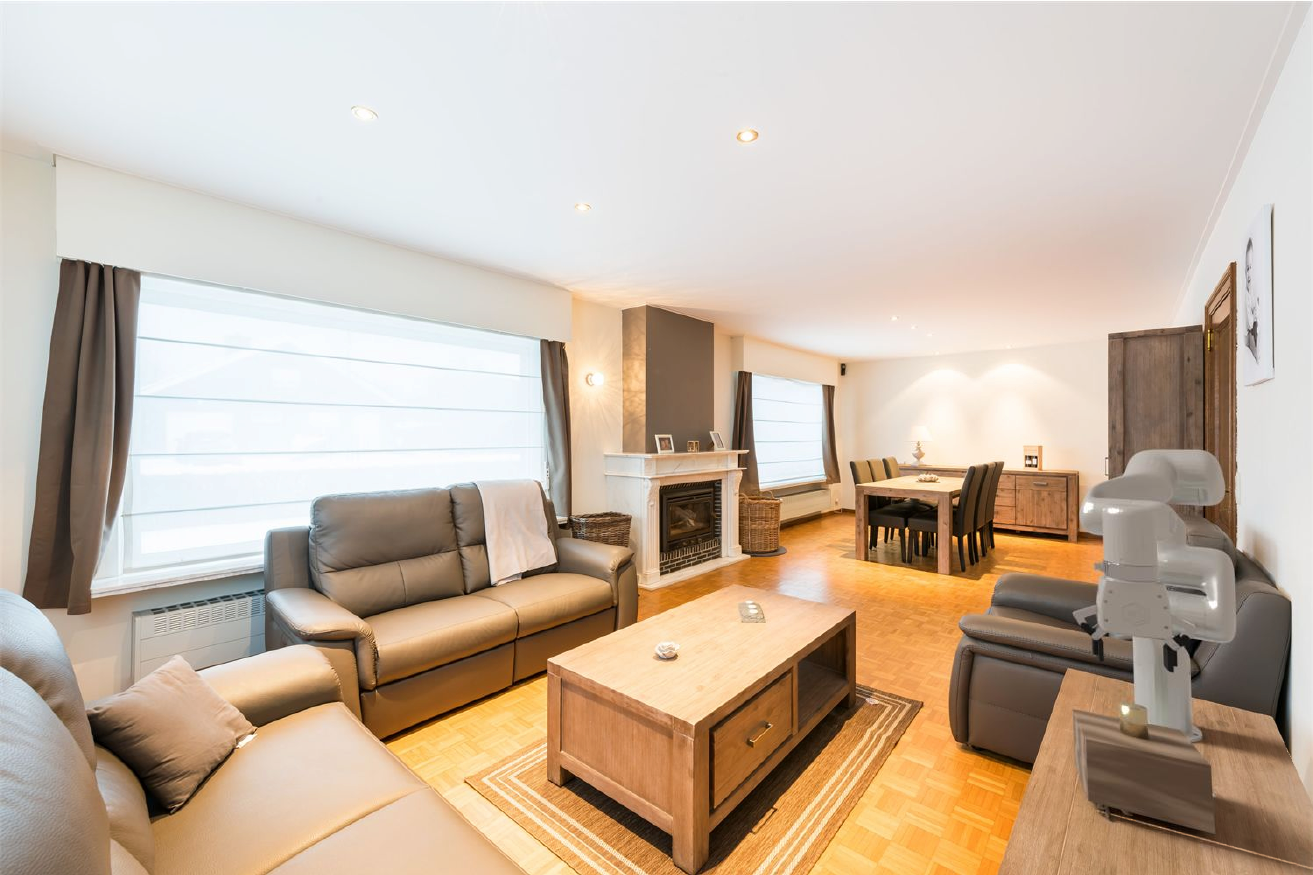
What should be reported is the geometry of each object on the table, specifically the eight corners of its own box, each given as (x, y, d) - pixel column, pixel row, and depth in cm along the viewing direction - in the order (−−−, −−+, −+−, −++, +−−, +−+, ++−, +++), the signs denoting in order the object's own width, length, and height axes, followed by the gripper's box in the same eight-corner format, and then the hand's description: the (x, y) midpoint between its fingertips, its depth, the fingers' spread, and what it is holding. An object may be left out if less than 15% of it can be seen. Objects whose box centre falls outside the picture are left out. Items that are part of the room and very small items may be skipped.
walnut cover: (1074, 762, 109) (1071, 683, 110) (1183, 788, 100) (1178, 702, 102) (1088, 800, 95) (1084, 709, 97) (1215, 834, 87) (1209, 733, 88)
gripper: (1074, 571, 100) (1077, 662, 100) (1202, 582, 91) (1205, 682, 91) (1068, 562, 106) (1071, 648, 106) (1188, 571, 97) (1191, 665, 97)
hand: (1133, 664), depth 99 cm, fingers open, 9 cm apart
